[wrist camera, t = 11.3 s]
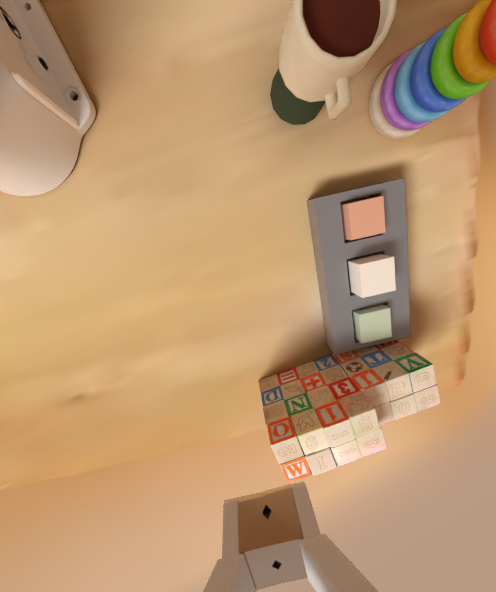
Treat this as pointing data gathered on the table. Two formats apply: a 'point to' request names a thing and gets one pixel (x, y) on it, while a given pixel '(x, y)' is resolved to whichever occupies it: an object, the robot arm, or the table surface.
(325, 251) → the button panel
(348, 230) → the terracotta button
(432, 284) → the table surface
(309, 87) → the character mug
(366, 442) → the stack of blocks
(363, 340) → the sage button
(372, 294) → the cream button
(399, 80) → the stacking toy
